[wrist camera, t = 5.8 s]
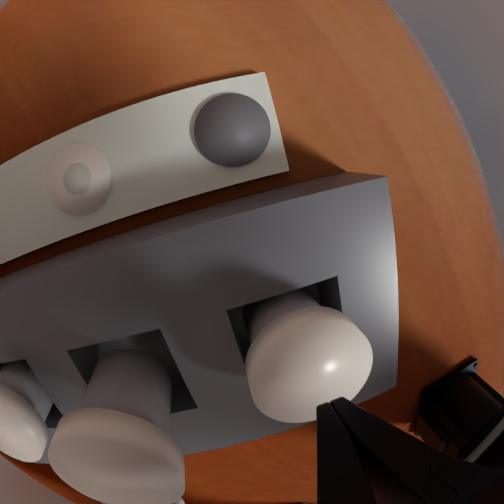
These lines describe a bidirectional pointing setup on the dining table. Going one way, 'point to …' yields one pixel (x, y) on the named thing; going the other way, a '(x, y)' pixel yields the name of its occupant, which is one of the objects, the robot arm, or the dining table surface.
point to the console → (208, 300)
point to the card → (139, 161)
